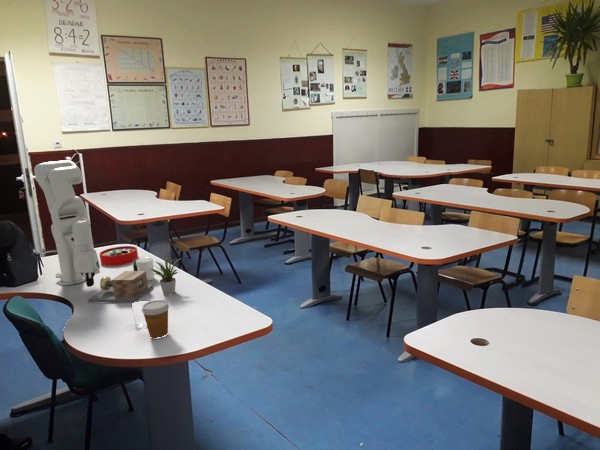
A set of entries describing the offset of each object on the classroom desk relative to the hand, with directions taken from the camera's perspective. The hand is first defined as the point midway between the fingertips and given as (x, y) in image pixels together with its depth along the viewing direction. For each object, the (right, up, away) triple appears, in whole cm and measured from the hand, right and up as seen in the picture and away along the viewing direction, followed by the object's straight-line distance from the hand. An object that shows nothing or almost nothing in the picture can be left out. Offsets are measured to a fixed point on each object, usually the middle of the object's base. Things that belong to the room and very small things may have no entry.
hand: (90, 285), depth 224 cm
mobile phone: (+10, +4, +35) cm, 36 cm away
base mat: (+15, -4, -2) cm, 15 cm away
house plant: (+37, -3, -1) cm, 37 cm away
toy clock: (-6, +7, +53) cm, 54 cm away
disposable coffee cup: (+44, -13, -45) cm, 64 cm away
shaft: (+16, -2, -2) cm, 16 cm away
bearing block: (+20, -2, -3) cm, 20 cm away
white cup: (+20, +1, +18) cm, 27 cm away
